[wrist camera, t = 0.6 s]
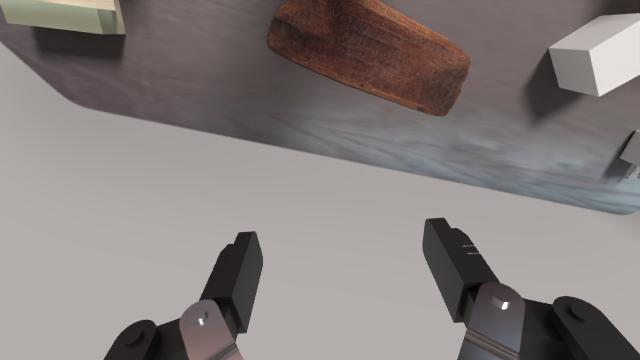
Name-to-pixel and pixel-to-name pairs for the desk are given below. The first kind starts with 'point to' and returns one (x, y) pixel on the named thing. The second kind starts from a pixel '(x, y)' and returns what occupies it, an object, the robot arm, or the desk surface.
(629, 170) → the usb wall charger
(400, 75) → the wooden tablet
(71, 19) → the cradle
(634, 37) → the white cube
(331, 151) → the desk surface
